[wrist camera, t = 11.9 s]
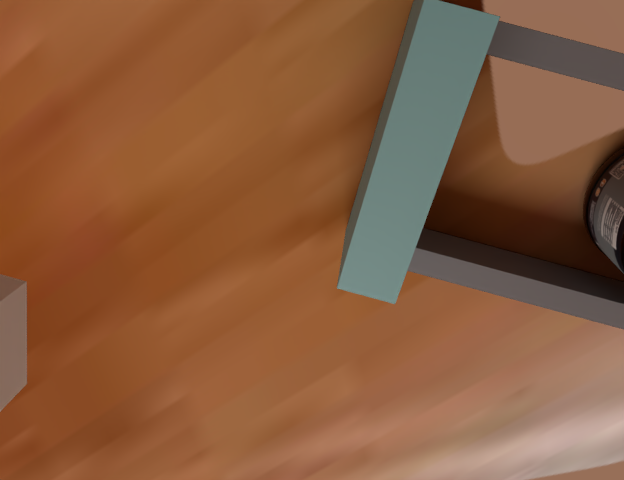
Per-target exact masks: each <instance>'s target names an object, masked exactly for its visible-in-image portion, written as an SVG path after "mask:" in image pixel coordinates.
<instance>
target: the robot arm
mask: <svg viewBox="0 0 624 480" xmlns="http://www.w3.org/2000/svg"><path fill="white" fill-rule="evenodd" d="M26 384H27V282H26V281H22V280H19V279H15V278H11V277H8V276H4V275H1V274H0V411H1V410H2V409H3V408H4V407H5V406H6V405H7V404H8V403H9V402H10V401H11V400H12V399H13V398H14V397H15V396H16V395H17V394H18V393H19V391H20V390H21V389H22V388H23V387H24V386H25V385H26Z"/></svg>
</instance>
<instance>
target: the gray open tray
mask: <svg viewBox="0 0 624 480" xmlns="http://www.w3.org/2000/svg"><path fill="white" fill-rule="evenodd" d="M499 18H500V16H496V15H492V14H488V13H485V12H481V11H477V10H473V9H470V8H466V7H462V6H458V5H455V4H451V3H447V2H443V1H439V0H415V1H413V4H412V8H411V11H410V14H409V18H408V21H407V25H406V28H405V31H404V35H403V38H402V42H401V45H400V48H399V52H398V55H397V59H396V62H395V65H394V69H393V72H392V76H391V79H390V82H389V86H388V89H387V93H386V96H385V99H384V103H383V106H382V110H381V113H380V116H379V120H378V123H377V126H376V130H375V133H374V137H373V140H372V143H371V147H370V150H369V154H368V157H367V160H366V164H365V167H364V171H363V174H362V177H361V181H360V184H359V188H358V191H357V194H356V198H355V201H354V205H353V208H352V211H351V215H350V218H349V222H348V225H347V228H346V233H345V239H344V246H343V252H342V259H341V265H340V271H339V278H338V284H337V288H338V289H342V290H345V291H349V292H353V293H356V294H360V295H364V296H367V297H371V298H375V299H378V300H382V301H386V302H389V303H393V304H395V303H396V300H397V297H398V295H399V292H400V289H401V286H402V284H403V281H404V278H405V275H406V273H407V271H411V272H414V273H418V274H422V275H425V276H429V277H433V278H436V279H440V280H444V281H447V282H451V283H455V284H459V285H462V286H466V287H470V288H473V289H477V290H481V291H484V292H488V293H492V294H495V295H499V296H503V297H506V298H510V299H514V300H517V301H521V302H525V303H529V304H532V305H536V306H540V307H543V308H547V309H551V310H554V311H558V312H562V313H565V314H569V315H573V316H576V317H580V318H584V319H587V320H591V321H595V322H599V323H602V324H606V325H610V326H613V327H617V328H621V329H624V282H621V281H618V280H614V279H610V278H606V277H603V276H599V275H595V274H592V273H588V272H584V271H581V270H577V269H573V268H569V267H566V266H562V265H558V264H555V263H551V262H547V261H544V260H540V259H536V258H532V257H529V256H525V255H521V254H518V253H514V252H510V251H507V250H503V249H499V248H495V247H492V246H488V245H484V244H481V243H477V242H473V241H470V240H466V239H462V238H458V237H455V236H451V235H447V234H444V233H440V232H436V231H433V230H429V229H425V228H423V226H424V223H425V221H426V218H427V215H428V212H429V210H430V207H431V204H432V201H433V199H434V196H435V193H436V191H437V188H438V185H439V182H440V180H441V177H442V174H443V171H444V169H445V166H446V163H447V160H448V158H449V155H450V152H451V149H452V147H453V144H454V141H455V139H456V136H457V133H458V130H459V128H460V125H461V122H462V119H463V117H464V114H465V111H466V108H467V106H468V103H469V100H470V97H471V95H472V92H473V89H474V87H475V84H476V81H477V78H478V76H479V73H480V70H481V67H482V65H483V62H484V59H485V56H486V54H487V55H491V56H495V57H499V58H502V59H506V60H510V61H514V62H517V63H522V64H525V65H529V66H532V67H537V68H540V69H544V70H548V71H552V72H555V73H559V74H563V75H566V76H570V77H574V78H578V79H581V80H585V81H589V82H593V83H596V84H600V85H604V86H608V87H612V88H615V89H619V90H623V91H624V54H623V53H619V52H615V51H611V50H607V49H603V48H600V47H596V46H592V45H589V44H585V43H581V42H577V41H574V40H570V39H566V38H562V37H558V36H554V35H550V34H547V33H543V32H540V31H535V30H532V29H528V28H524V27H520V26H517V25H513V24H509V23H505V22H502V21H499Z"/></svg>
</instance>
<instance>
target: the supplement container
mask: <svg viewBox="0 0 624 480" xmlns="http://www.w3.org/2000/svg"><path fill="white" fill-rule="evenodd" d="M583 218H584V223H585V227H586V230H587V232H588V234H589V236H590V238H591V240H592V241H593V243H594V244H595V245H596V246H597V247H598V249H599V250H600V251H602V252H603V253H604V254H605V255H606V256H608V258H609V259H610V260H611V261H612V262H613V263H614V264H615V265H616V266H617V267H618V268H619V269H620V270H621V271H622V273H623V274H624V148H622V149H621V150H619V151H618V152H616V153H615V154H614V155H612V156H611V157H610V158H609V159H608V160H607V161H606V162H605V163H604V164H603V165H602V166H601V167H600V168H599V170H598V171H597V172H596V174H595V175H594V177H593V178H592V180H591V182H590V184H589V186H588V189H587V191H586V195H585V198H584V204H583Z"/></svg>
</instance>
